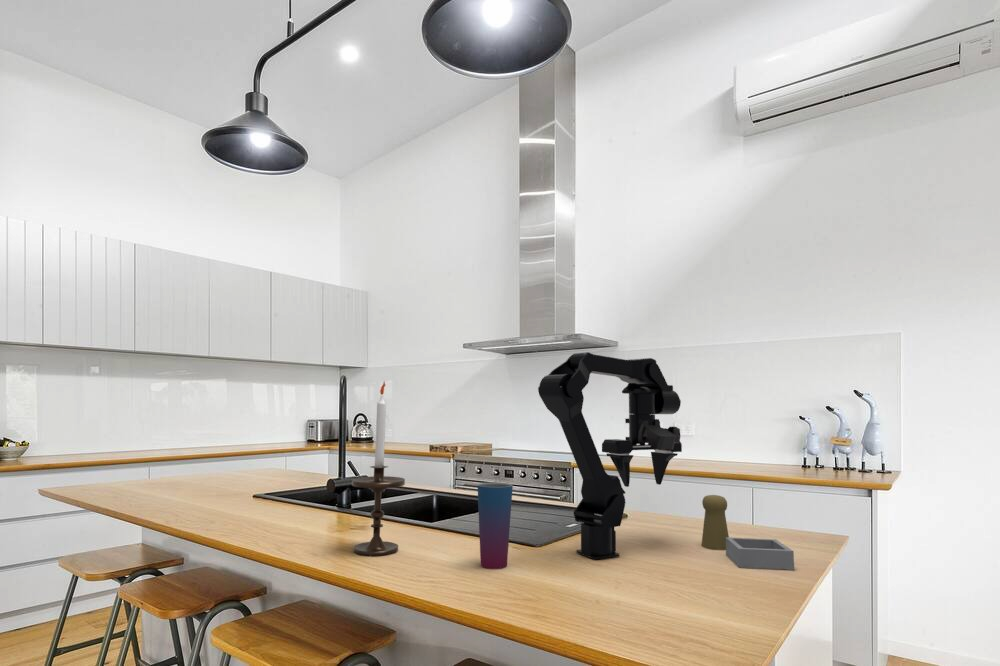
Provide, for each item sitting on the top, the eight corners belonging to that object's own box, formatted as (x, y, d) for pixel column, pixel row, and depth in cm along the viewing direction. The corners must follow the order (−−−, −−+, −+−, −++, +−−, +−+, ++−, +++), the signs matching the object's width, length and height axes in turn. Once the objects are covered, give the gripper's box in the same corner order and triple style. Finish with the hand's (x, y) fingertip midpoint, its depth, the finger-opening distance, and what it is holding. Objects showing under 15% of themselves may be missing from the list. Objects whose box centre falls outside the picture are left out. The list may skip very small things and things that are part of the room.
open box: (739, 567, 114) (738, 548, 115) (726, 554, 124) (725, 537, 124) (794, 570, 113) (793, 551, 113) (776, 556, 123) (775, 539, 123)
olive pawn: (736, 549, 129) (734, 497, 130) (711, 550, 127) (710, 497, 129) (720, 543, 135) (718, 493, 136) (696, 544, 133) (694, 493, 134)
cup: (477, 560, 117) (478, 482, 118) (511, 561, 116) (512, 482, 118) (474, 569, 110) (476, 486, 112) (511, 570, 110) (512, 487, 111)
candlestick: (412, 552, 122) (417, 381, 126) (362, 560, 115) (369, 379, 119) (387, 542, 130) (393, 382, 134) (340, 549, 124) (348, 380, 128)
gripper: (633, 415, 122) (634, 493, 120) (699, 415, 131) (701, 488, 129) (600, 413, 132) (600, 485, 130) (663, 414, 141) (664, 481, 139)
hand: (642, 485), depth 132 cm, fingers open, 9 cm apart
